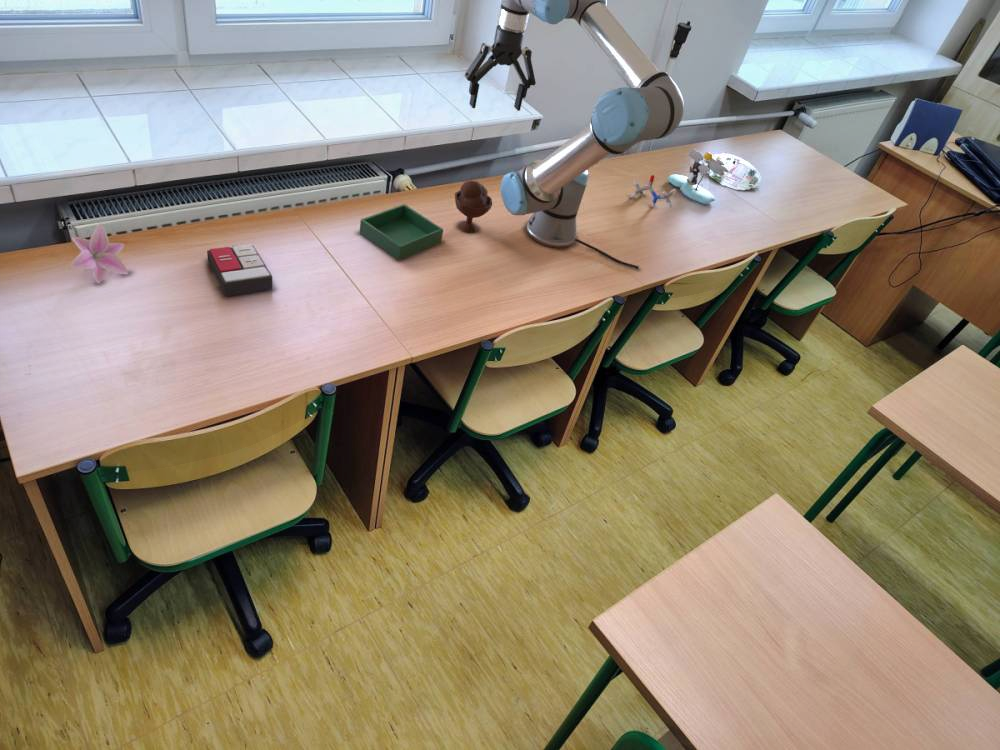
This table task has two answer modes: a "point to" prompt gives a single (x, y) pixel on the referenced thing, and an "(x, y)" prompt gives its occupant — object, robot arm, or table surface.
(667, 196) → the molecular model
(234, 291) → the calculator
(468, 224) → the ice cream bowl
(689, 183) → the figurine on stand
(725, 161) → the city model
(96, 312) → the table surface
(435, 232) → the bin
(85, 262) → the lily
